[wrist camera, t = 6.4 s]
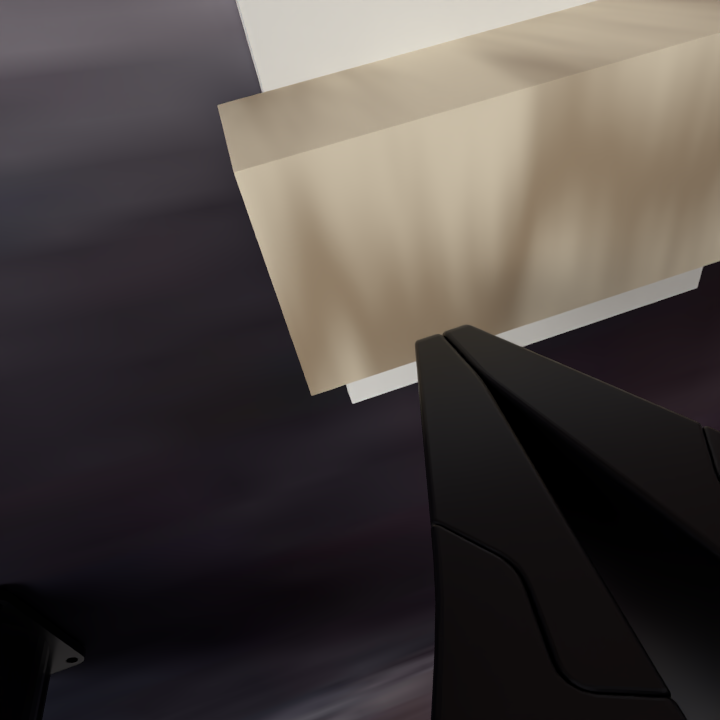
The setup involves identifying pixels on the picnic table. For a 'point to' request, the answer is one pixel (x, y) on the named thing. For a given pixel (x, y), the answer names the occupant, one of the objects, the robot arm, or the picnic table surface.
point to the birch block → (484, 179)
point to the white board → (392, 38)
